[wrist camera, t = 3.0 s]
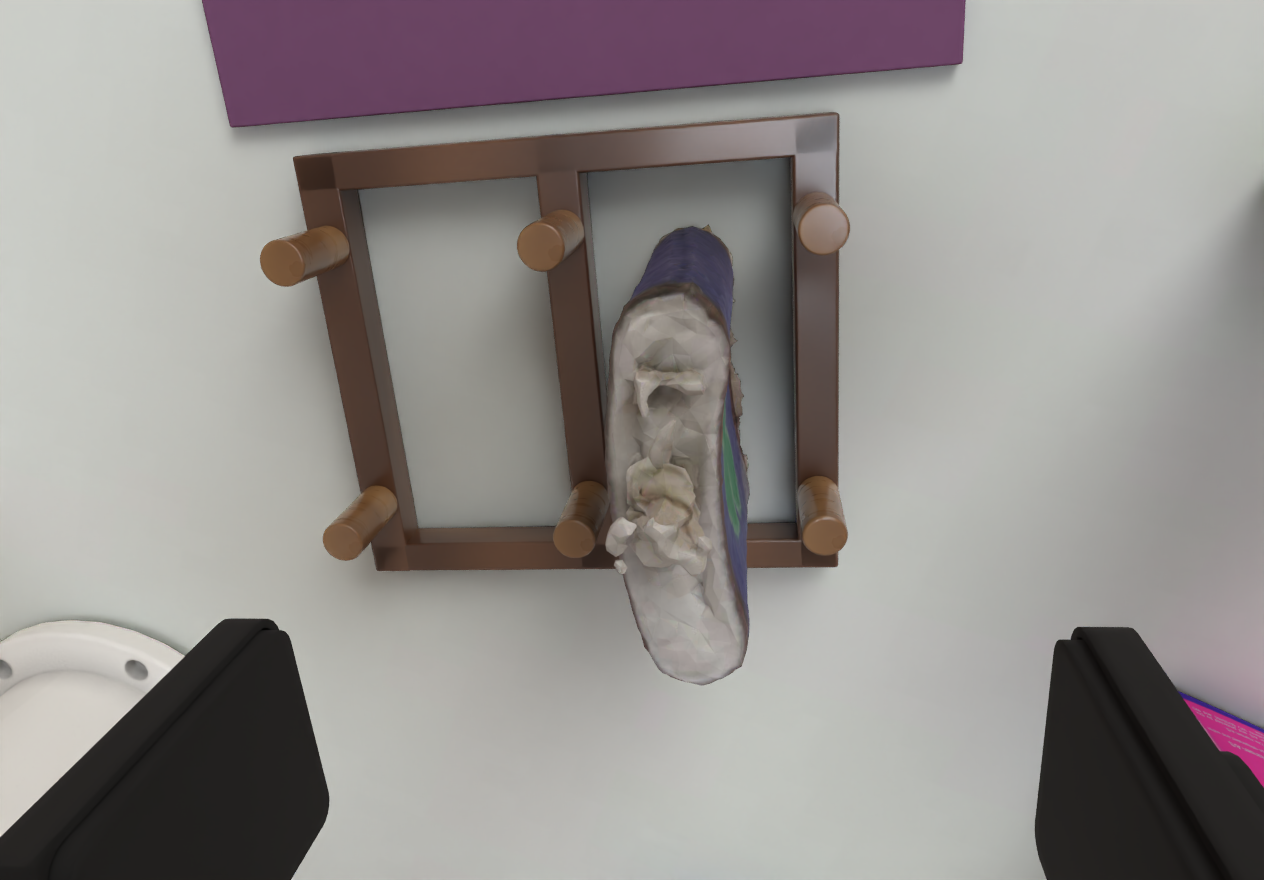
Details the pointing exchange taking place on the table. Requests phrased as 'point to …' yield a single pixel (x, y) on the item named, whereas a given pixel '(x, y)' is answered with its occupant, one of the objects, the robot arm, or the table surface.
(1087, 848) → the robot arm
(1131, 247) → the table surface
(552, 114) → the table surface
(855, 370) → the table surface
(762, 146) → the dish rack
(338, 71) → the mat
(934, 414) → the table surface
